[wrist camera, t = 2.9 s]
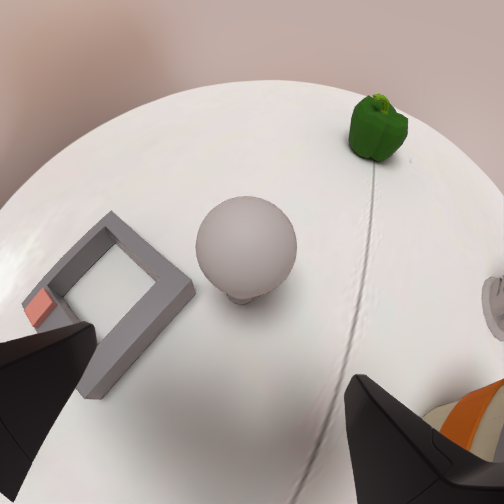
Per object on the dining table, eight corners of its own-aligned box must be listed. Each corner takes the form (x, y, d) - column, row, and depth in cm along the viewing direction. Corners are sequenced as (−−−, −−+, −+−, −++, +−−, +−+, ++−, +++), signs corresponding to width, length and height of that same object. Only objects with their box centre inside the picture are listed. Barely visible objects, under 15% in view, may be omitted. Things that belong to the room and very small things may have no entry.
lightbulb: (263, 256, 25) (284, 169, 16) (284, 317, 23) (326, 254, 13) (199, 270, 24) (183, 184, 15) (214, 334, 21) (202, 282, 12)
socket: (195, 293, 23) (190, 275, 20) (100, 399, 17) (79, 398, 14) (120, 228, 26) (108, 205, 22) (38, 314, 20) (16, 300, 17)
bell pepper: (383, 141, 38) (406, 93, 29) (396, 174, 34) (426, 122, 25) (337, 128, 38) (355, 75, 29) (344, 161, 34) (369, 101, 25)
